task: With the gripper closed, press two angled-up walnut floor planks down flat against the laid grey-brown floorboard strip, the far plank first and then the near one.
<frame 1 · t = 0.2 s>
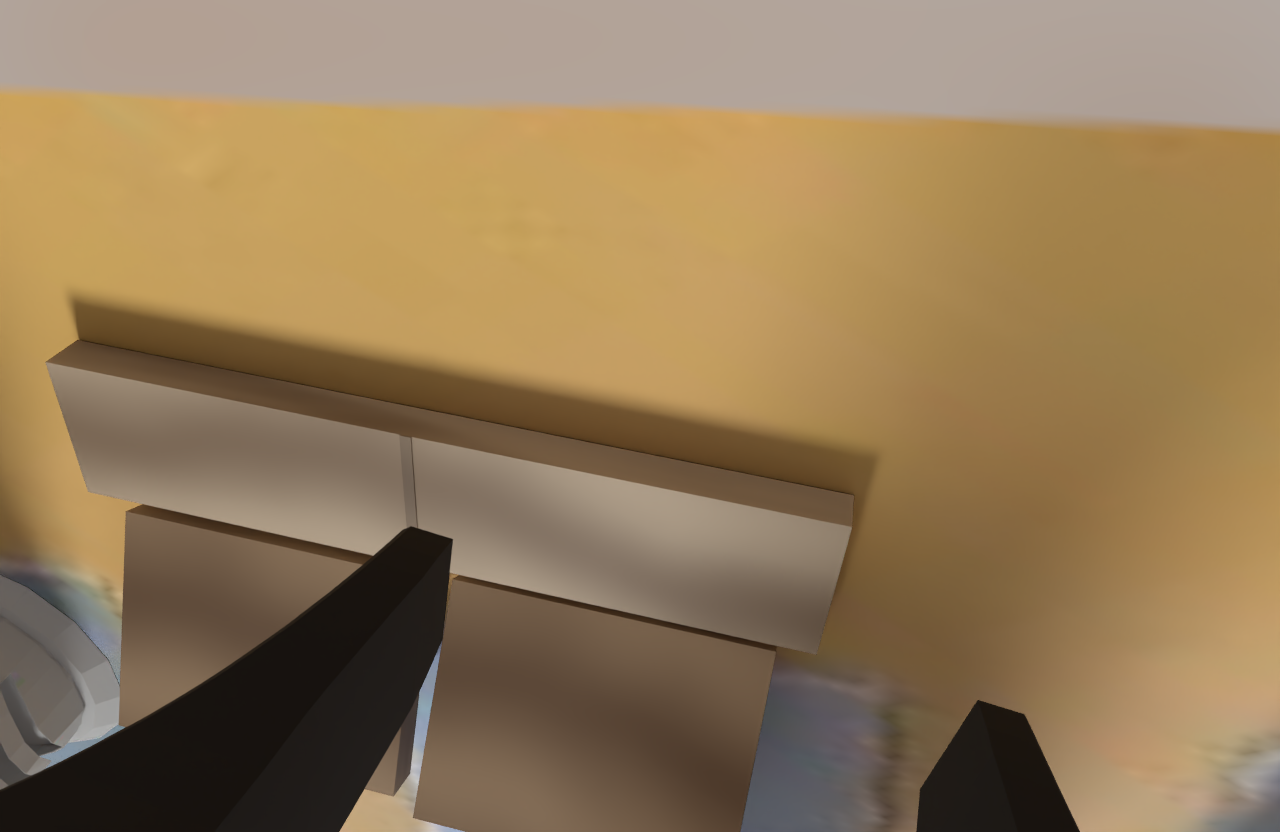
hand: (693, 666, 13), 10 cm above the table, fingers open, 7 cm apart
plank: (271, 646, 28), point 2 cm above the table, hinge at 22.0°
french press: (2, 635, 35), on the table
laid board: (446, 479, 26), on the table
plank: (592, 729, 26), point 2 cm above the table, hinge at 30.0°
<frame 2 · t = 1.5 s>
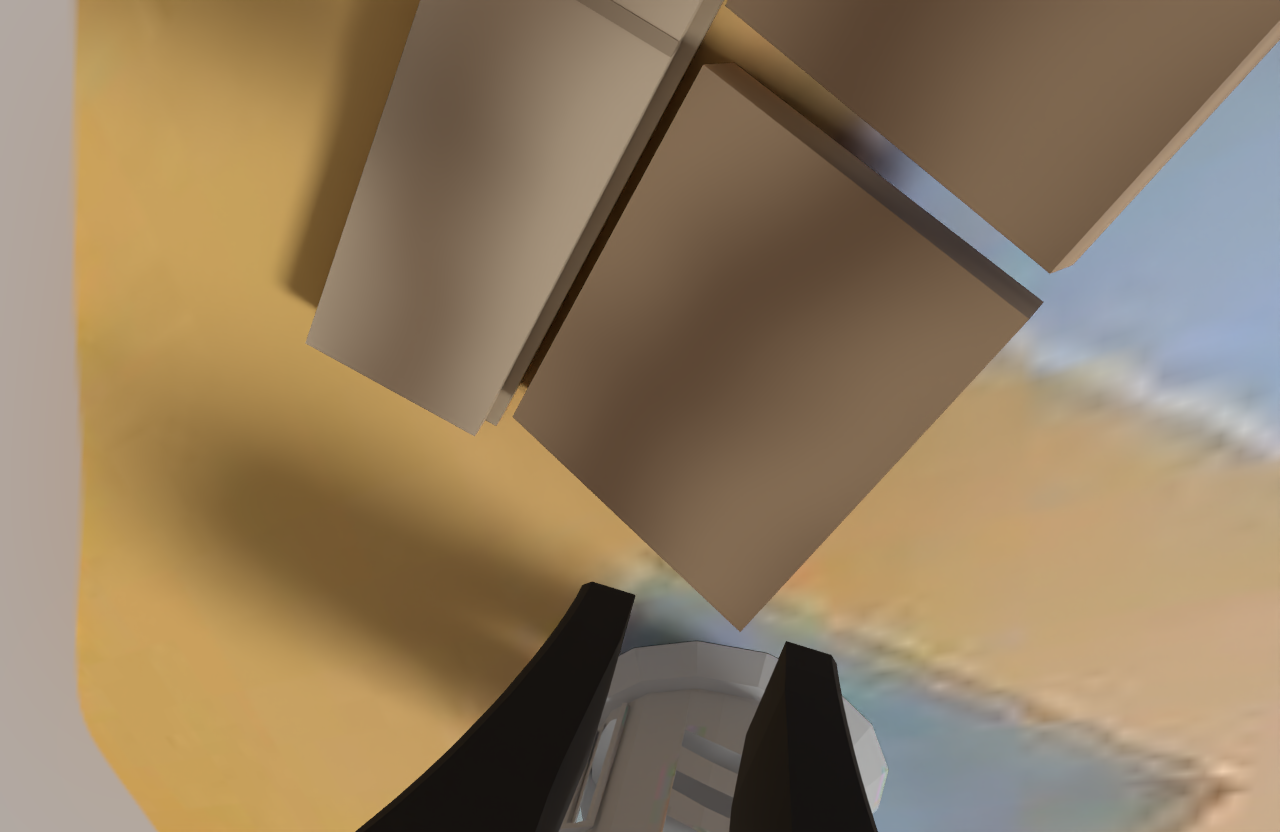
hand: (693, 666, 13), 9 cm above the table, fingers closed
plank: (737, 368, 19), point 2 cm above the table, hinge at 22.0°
french press: (698, 736, 29), on the table
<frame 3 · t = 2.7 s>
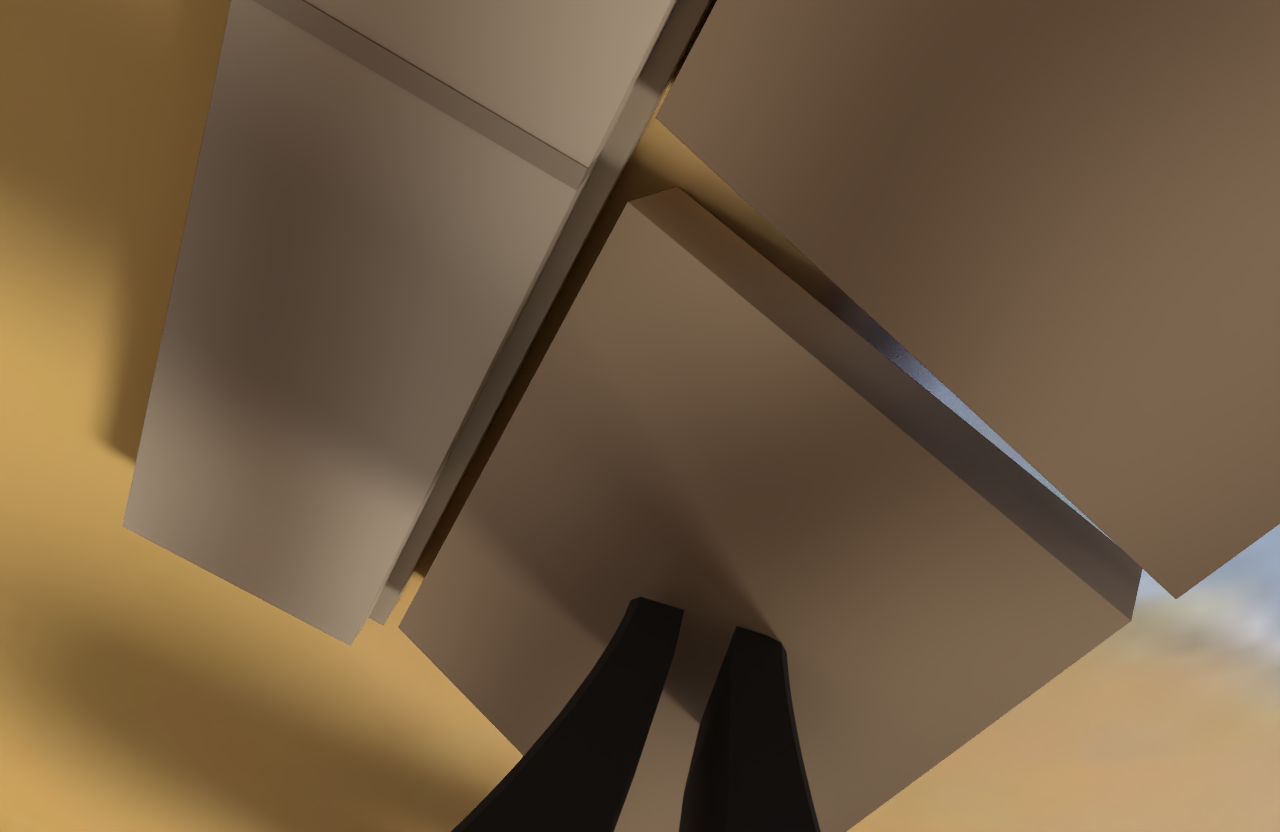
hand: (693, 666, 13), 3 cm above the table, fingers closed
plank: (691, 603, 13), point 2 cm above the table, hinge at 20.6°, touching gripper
laid board: (467, 15, 11), on the table
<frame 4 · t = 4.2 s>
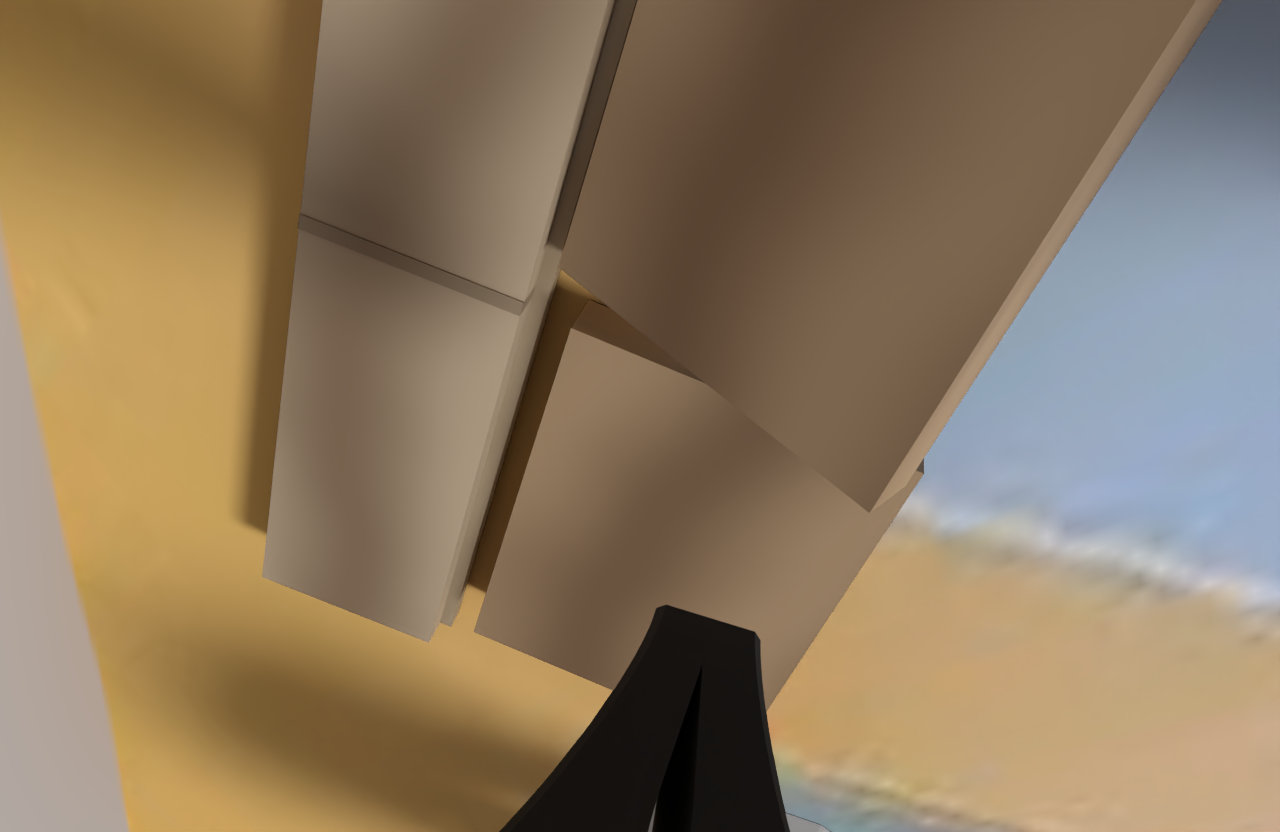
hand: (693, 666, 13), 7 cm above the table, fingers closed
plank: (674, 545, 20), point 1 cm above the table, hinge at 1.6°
laid board: (440, 216, 18), on the table
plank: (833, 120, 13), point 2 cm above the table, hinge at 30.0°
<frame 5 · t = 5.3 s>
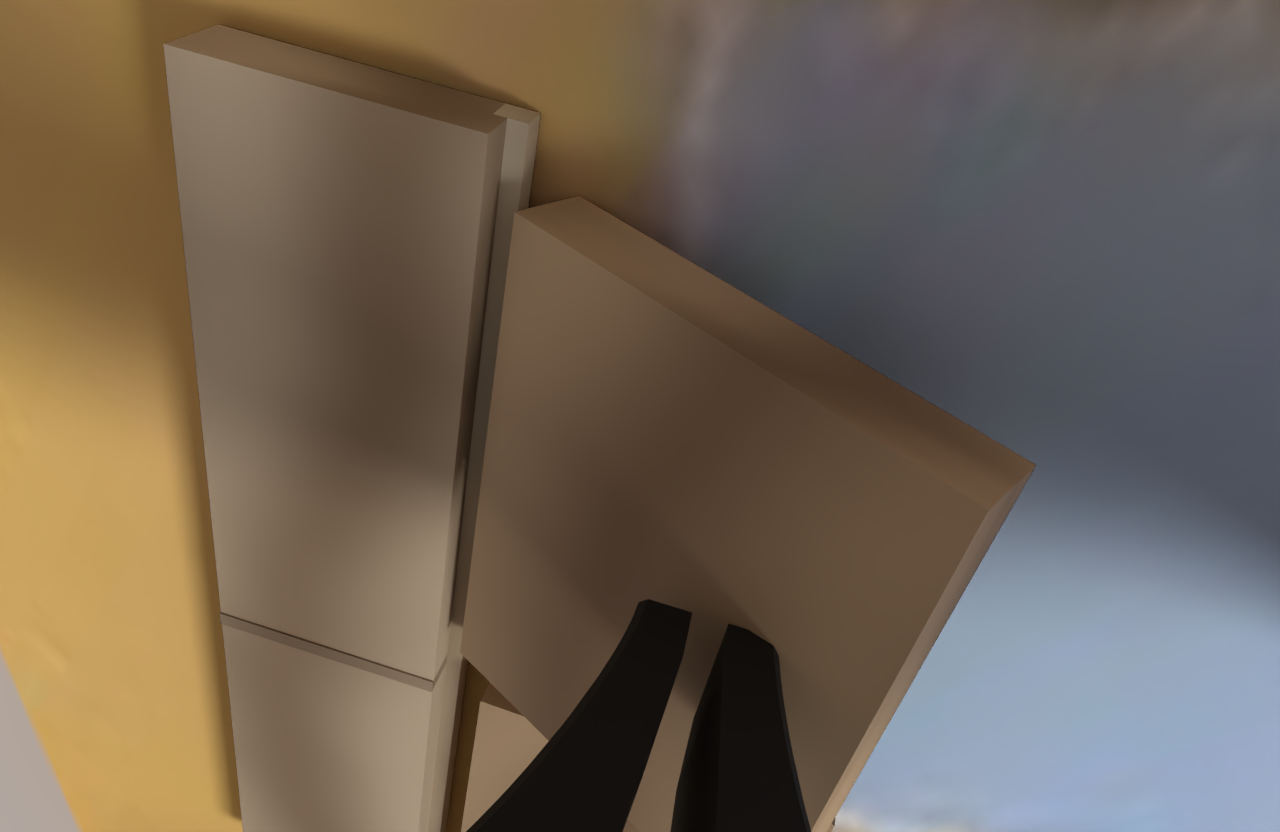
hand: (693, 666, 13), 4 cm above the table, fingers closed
laid board: (355, 590, 19), on the table
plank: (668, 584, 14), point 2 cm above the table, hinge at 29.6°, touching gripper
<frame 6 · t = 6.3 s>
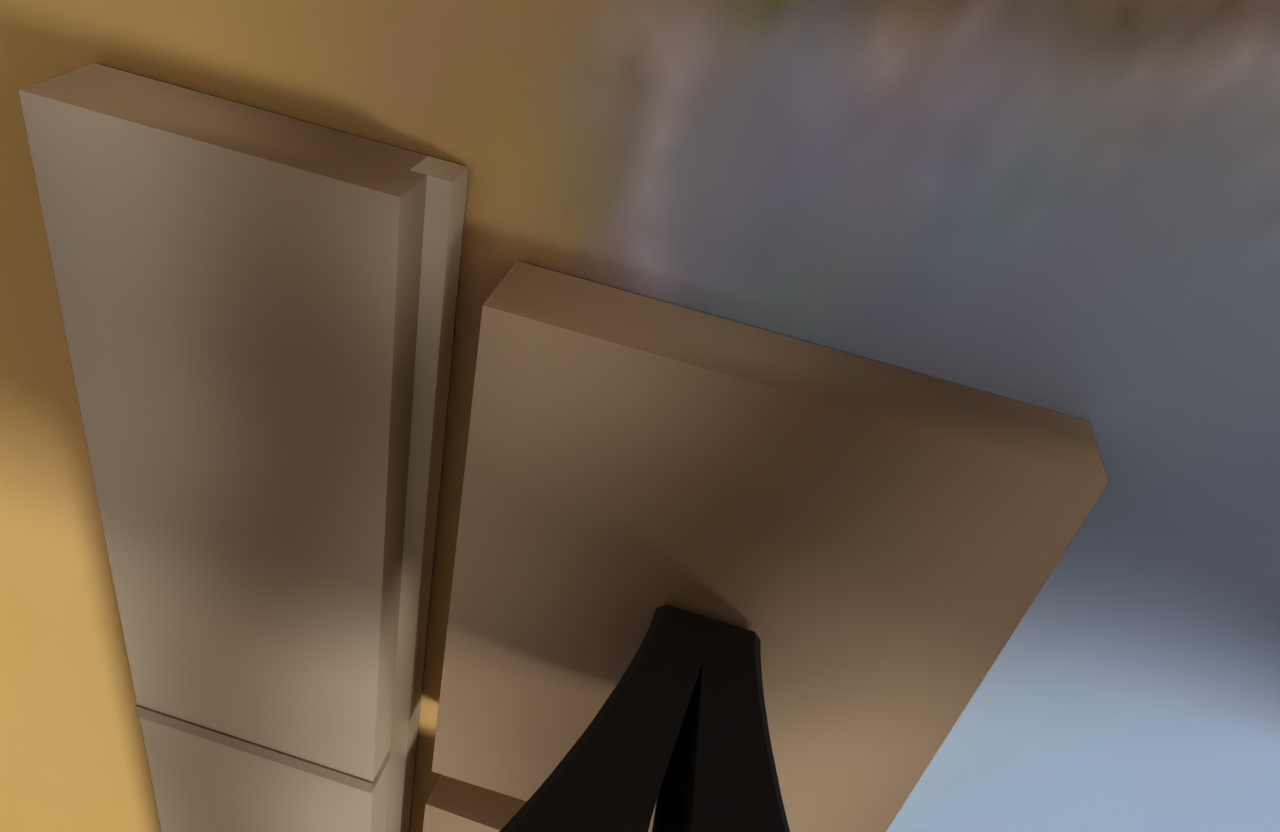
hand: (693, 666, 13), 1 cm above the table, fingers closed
laid board: (289, 676, 17), on the table
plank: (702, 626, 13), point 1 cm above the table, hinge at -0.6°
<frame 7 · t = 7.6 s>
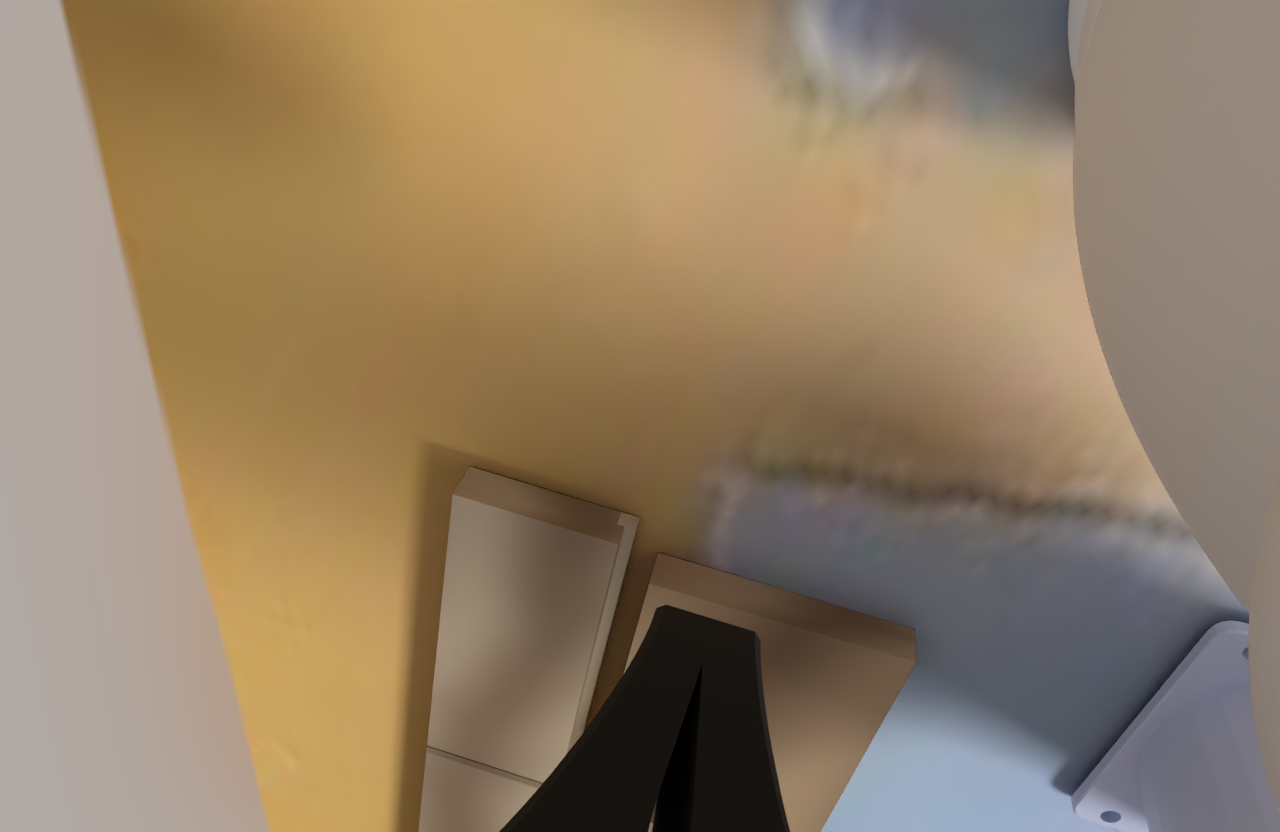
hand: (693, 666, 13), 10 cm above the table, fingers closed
laid board: (505, 729, 31), on the table
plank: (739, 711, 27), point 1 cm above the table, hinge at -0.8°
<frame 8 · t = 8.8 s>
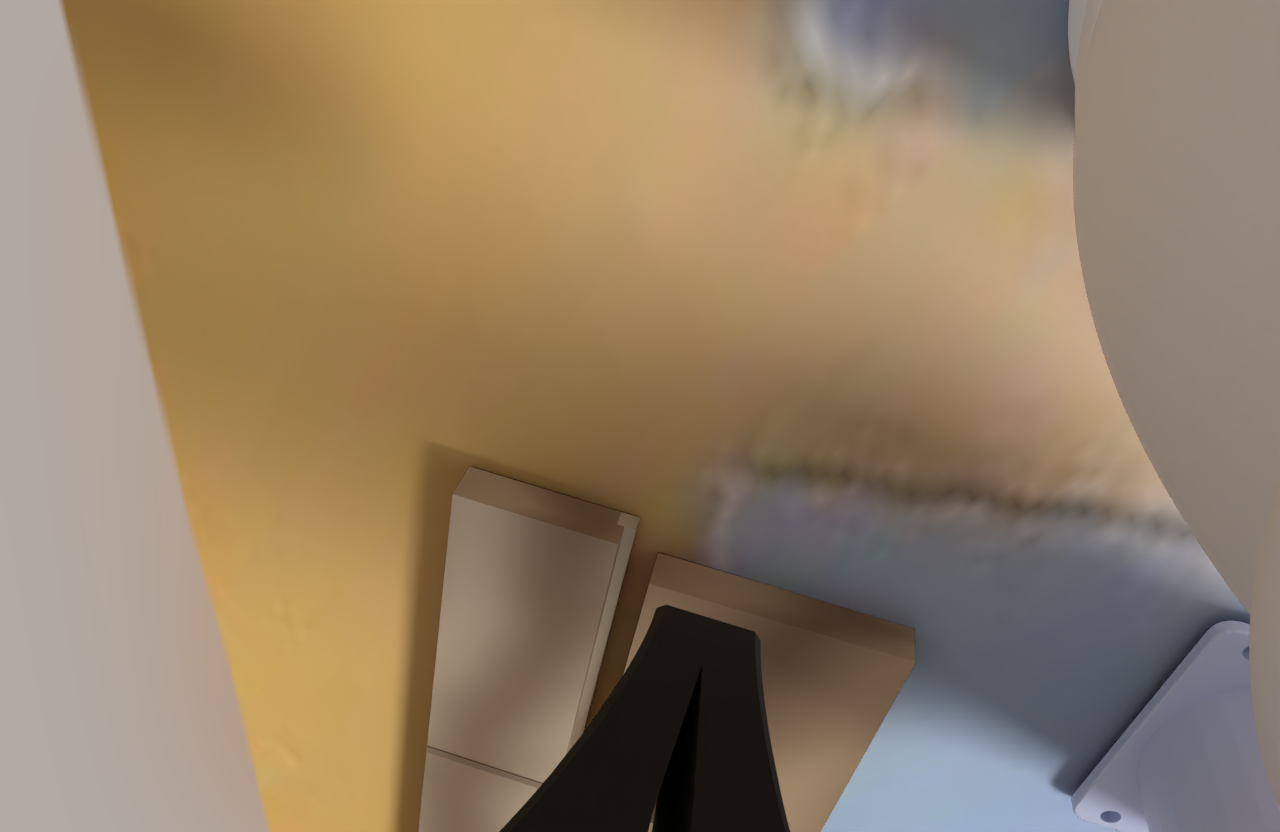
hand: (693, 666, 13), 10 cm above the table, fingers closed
laid board: (505, 729, 31), on the table
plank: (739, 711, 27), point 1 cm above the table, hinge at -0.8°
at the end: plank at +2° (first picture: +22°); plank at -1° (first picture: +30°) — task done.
